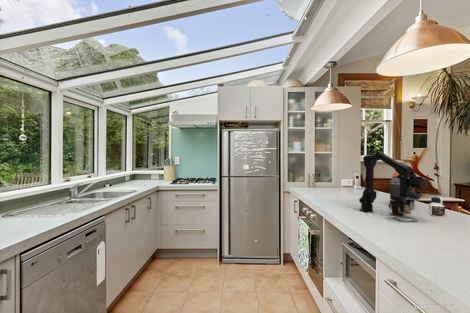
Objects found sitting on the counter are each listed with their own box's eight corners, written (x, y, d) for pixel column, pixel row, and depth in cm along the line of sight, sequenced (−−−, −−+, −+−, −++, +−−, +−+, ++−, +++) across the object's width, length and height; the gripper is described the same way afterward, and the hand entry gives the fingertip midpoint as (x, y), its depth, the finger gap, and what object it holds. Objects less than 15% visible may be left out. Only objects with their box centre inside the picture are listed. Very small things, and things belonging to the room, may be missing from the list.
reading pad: (401, 222, 160) (401, 220, 160) (391, 217, 170) (391, 216, 170) (418, 222, 160) (418, 221, 160) (407, 218, 170) (407, 216, 170)
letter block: (407, 214, 161) (407, 206, 161) (398, 212, 165) (398, 204, 165) (411, 213, 164) (411, 205, 164) (402, 211, 168) (402, 203, 168)
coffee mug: (401, 213, 181) (401, 199, 181) (408, 216, 173) (408, 201, 173) (383, 213, 183) (383, 198, 182) (389, 216, 174) (389, 201, 174)
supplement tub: (415, 211, 189) (415, 174, 189) (389, 208, 198) (389, 173, 197) (413, 207, 203) (414, 173, 203) (390, 205, 211) (390, 172, 211)
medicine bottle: (431, 216, 175) (432, 197, 175) (428, 213, 182) (428, 196, 182) (445, 217, 172) (445, 198, 172) (441, 214, 179) (441, 196, 179)
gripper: (411, 188, 153) (411, 215, 153) (426, 186, 163) (426, 212, 163) (391, 186, 162) (391, 212, 162) (406, 184, 172) (406, 208, 172)
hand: (404, 211), depth 165 cm, fingers closed on letter block, 5 cm apart
